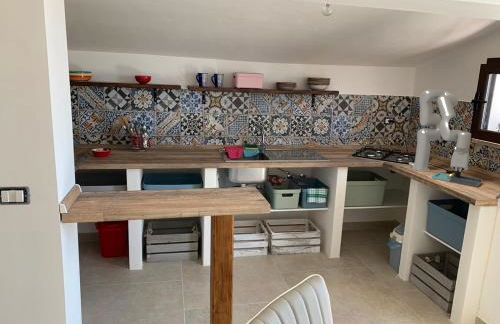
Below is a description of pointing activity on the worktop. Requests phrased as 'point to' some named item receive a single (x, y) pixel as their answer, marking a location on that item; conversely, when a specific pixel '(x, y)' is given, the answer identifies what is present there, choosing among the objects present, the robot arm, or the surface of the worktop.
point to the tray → (441, 177)
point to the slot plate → (466, 181)
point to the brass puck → (450, 175)
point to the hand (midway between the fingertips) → (457, 176)
